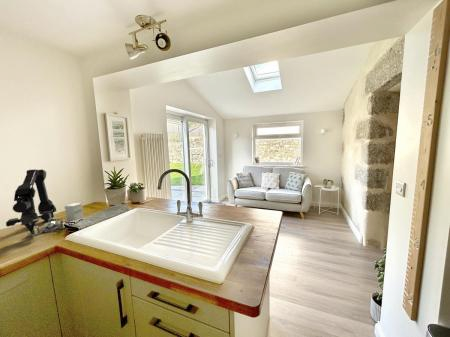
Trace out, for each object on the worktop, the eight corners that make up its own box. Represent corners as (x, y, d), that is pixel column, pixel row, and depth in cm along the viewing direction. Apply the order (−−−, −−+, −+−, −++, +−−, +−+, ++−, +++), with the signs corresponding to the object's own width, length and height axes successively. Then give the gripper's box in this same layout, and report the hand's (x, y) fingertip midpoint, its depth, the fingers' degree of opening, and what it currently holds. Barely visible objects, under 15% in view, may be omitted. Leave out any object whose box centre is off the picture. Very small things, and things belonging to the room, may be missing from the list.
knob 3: (61, 225, 133) (60, 220, 132) (68, 223, 135) (68, 218, 135) (60, 228, 126) (59, 224, 126) (68, 227, 129) (67, 222, 128)
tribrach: (32, 228, 134) (31, 221, 134) (72, 219, 147) (71, 213, 146) (26, 238, 119) (25, 230, 118) (71, 227, 132) (70, 221, 131)
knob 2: (48, 224, 135) (47, 219, 135) (49, 222, 139) (48, 218, 138) (63, 221, 140) (62, 216, 140) (63, 219, 143) (62, 215, 143)
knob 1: (30, 232, 123) (29, 227, 123) (38, 229, 127) (37, 225, 126) (32, 235, 118) (31, 230, 118) (41, 232, 122) (40, 228, 121)
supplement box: (75, 223, 140) (72, 206, 138) (66, 222, 141) (64, 205, 140) (84, 219, 147) (82, 202, 145) (76, 218, 148) (73, 202, 147)
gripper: (0, 215, 106) (5, 242, 107) (46, 207, 117) (50, 232, 118) (7, 209, 115) (11, 235, 116) (49, 203, 125) (52, 226, 127)
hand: (31, 232), depth 119 cm, fingers closed
